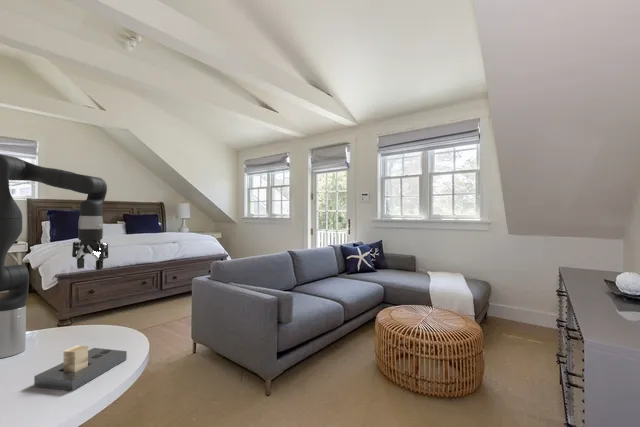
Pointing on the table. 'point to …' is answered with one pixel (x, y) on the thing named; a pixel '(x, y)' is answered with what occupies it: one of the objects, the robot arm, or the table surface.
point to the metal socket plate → (68, 381)
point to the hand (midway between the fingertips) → (89, 269)
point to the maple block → (75, 359)
